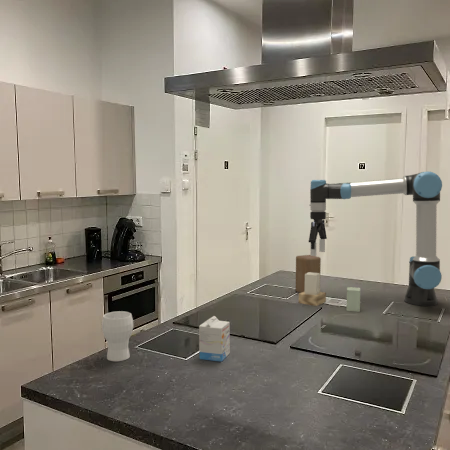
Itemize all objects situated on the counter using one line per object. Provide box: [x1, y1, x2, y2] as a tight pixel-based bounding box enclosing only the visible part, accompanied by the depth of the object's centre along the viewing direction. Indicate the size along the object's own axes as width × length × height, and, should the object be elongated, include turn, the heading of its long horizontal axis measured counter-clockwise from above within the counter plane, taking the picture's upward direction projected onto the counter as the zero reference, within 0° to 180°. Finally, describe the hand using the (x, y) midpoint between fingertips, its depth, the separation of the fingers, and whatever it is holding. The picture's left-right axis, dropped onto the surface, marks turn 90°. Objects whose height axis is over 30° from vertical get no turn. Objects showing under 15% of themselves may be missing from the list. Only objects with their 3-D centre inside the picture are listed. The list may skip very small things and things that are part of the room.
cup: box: [101, 310, 134, 362], centre depth 160 cm, size 11×11×15 cm
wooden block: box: [295, 254, 322, 294], centre depth 251 cm, size 10×10×20 cm
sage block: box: [345, 286, 361, 313], centre depth 218 cm, size 6×6×10 cm
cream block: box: [305, 272, 321, 295], centre depth 231 cm, size 6×6×10 cm
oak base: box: [298, 291, 327, 307], centre depth 232 cm, size 10×10×5 cm
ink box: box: [198, 315, 231, 362], centre depth 161 cm, size 9×8×13 cm
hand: (317, 253), depth 230 cm, fingers open, 13 cm apart
